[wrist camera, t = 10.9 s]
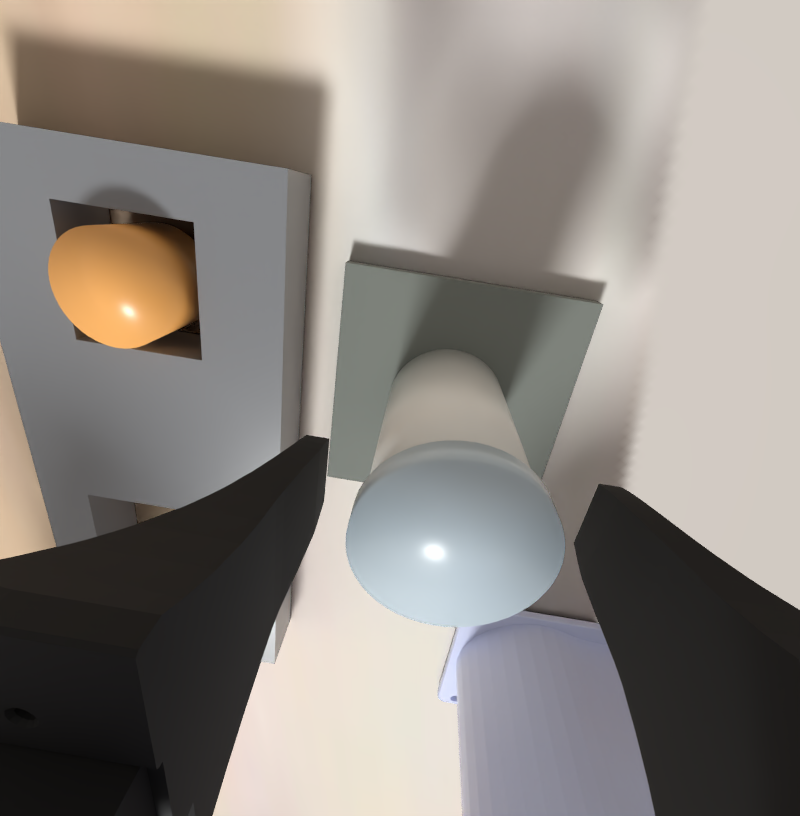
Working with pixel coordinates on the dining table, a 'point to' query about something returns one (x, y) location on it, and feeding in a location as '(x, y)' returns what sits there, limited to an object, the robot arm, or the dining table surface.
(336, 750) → the dining table surface
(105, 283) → the release plunger
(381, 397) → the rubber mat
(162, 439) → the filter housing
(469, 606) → the cylinder
